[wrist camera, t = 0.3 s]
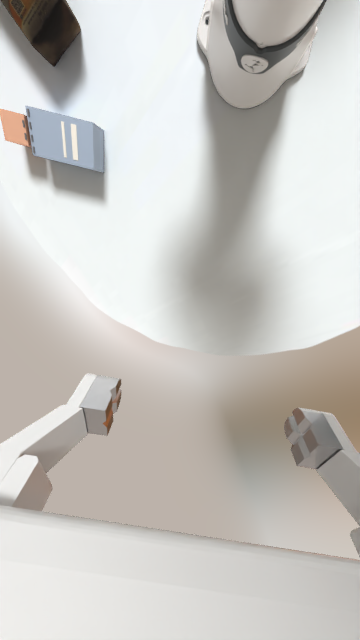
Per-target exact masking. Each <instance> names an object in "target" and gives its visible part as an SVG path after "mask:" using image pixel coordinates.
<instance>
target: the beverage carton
mask: <svg viewBox="0 0 360 640" xmlns="http://www.w3.org/2000/svg"><path fill="white" fill-rule="evenodd" d="M1 1H2V3H3V4H4V6H5V7H6V9H7V10H8V12H9V13H10V15H11V16H12V17H13V19H14V20H15V22H16V23H17V25H18V26H19V27H20V29H21V30H22V32H23V33H24V35H25V36H26V38H27V39H28V40H29V41H30V43H31V45H32V46H33V47H34V48H35V49H36V50H37V51H38V52H39V53H40V54H41V55H42V56H43V57H44V58H45V59H46V60H47V61H48V62H49V63H50V64H51V65H53V66H55V65H56V63H57V62H58V61H59V59H60V57H61V56H62V54H63V53H64V52H65V50H66V49H67V48H68V47H69V45H70V44H71V42H72V41H73V40H74V38H75V37H76V35H77V34H78V33H79V32H80V30H81V29H80V25H79V23H78V21H77V19H76V17H75V16H74V14H73V12H72V10H71V8H70V7H69V5H68V3H67V1H66V0H1Z"/></svg>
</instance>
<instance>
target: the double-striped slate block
mask: <svg viewBox="0 0 360 640" xmlns="http://www.w3.org/2000/svg"><path fill="white" fill-rule="evenodd" d="M25 106H26V105H25ZM26 112H27V119H28V126H29V132H30V139H31V145H32V152H33V155H34V156H38V157H42V158H46V159H50V160H54V161H58V162H62V163H66V164H71V165H75V166H79V167H83V168H87V169H91V170H95V171H99V172H103V173H104V130H103V129H101V128H100V127H98V126H97V125H95V124H94V123H92V122H89V121H85V120H81V119H77V118H73V117H69V116H65V115H61V114H57V113H53V112H49V111H45V110H41V109H37V108H33V107H30V106H26Z"/></svg>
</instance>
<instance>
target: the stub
mask: <svg viewBox="0 0 360 640" xmlns="http://www.w3.org/2000/svg"><path fill="white" fill-rule="evenodd" d="M0 116H1V121H2V126H3V131H4V136H5V140H6V141H10V142H13V143H17V144H20V145H23V146H27V147H31V148H32V145H31V139H30V132H29V126H28V119H27V116H25V115H23V114H19V113H15V112H11V111H7V110H3V109H0Z"/></svg>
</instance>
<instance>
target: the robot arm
mask: <svg viewBox="0 0 360 640" xmlns="http://www.w3.org/2000/svg"><path fill="white" fill-rule="evenodd" d="M325 2H326V0H205V4H204V8H203V11H202V15H201V18H200V22H199V25H198V30H197V41H198V44H199V46H200V48H201V49H202V51H203V53H204V54H205V56H206V57H207V60H208V63H209V68H210V72H211V76H212V80H213V83H214V85H215V87H216V89H217V91H218V93H219V94H220V96H221V97H222V98H223V99H224V100H225V101H226V102H227V103H229V104H230V105H232V106H234V107H237V108H252V107H255V106H258V105H260V104H262V103H263V102H265V101H266V100H267V99H269V98H270V97H271V96H272V95H273V94H274V93H275V92H276V91H277V90H278V89H279V87H280V86H281V85H282V84H283V83H284V82H285V81H286V80H287V79H289V78H291V77H293V76H295V75H296V74H298V73H299V72H301V71H302V70H303V69H304V67H305V65H306V64H307V62H308V59H309V55H310V51H311V47H312V42H313V39H314V37H315V35H316V33H317V30H318V28H317V27H316V26H317V22H318V18H319V15H320V13H321V11H322V9H323V6H324V4H325ZM206 20H209V23H208V25H206V24H205V21H206ZM120 386H121V379H117V378H111V377H106V376H101V375H96V374H90V373H87V374H86V375H85V376H84V377H83V379H82V380H81V382H80V383H79V385H78V387H77V389H76V390H75V391H74V393H73V395H72V396H71V398H70V399H69V401H68V403H67V404H66V405H61V406H60V407H58V408H56V409H55V410H53V411H52V412H50V413H48V414H47V415H45V416H44V417H42V418H41V419H39V420H37V421H36V422H34V423H33V424H31V425H30V426H28V427H27V428H25V429H23V430H22V431H20V432H19V433H17V434H16V435H14V436H12V437H11V438H9V439H8V440H6V441H5V442H3V443H2V444H0V640H360V560H356V559H349V558H343V557H337V556H330V555H324V554H317V553H311V552H304V551H297V550H291V549H284V548H278V547H271V546H265V545H258V544H251V543H245V542H239V541H232V540H226V539H219V538H212V537H206V536H199V535H193V534H186V533H180V532H173V531H167V530H160V529H153V528H147V527H141V526H134V525H128V524H120V523H114V522H108V521H101V520H95V519H88V518H82V517H75V516H68V515H62V514H55V513H49V512H42V510H43V508H44V506H45V504H46V501H47V499H48V497H49V495H50V493H51V491H52V484H51V482H50V480H49V479H48V477H47V475H46V473H47V472H48V471H49V470H50V469H51V468H52V467H53V466H54V465H55V464H57V463H58V461H60V460H61V459H62V458H63V457H64V456H65V455H66V454H67V453H68V452H69V451H71V449H72V448H74V447H75V446H76V445H77V444H78V443H79V442H80V441H81V440H82V439H83V438H84V437H85V436H87V434H88V433H91V434H99V435H106V436H107V435H108V433H109V430H110V428H111V425H112V423H113V414H114V413H115V412H116V411H117V409H118V407H119V403H120V399H121V390H120ZM292 413H293V416H290V417H288V418H287V420H286V421H285V425H284V430H285V434H286V437H287V439H288V440H289V441H290V443H291V444H292V447H291V451H292V454H293V456H294V459H295V462H296V465H297V466H300V467H305V468H311V469H316V471H317V473H318V474H319V475H320V476H321V478H322V479H323V480H324V481H325V482H326V484H327V485H328V486H329V488H330V489H331V490H332V491H333V493H334V494H335V495H336V497H337V498H338V499H339V500H340V502H341V503H342V504H343V505H344V507H345V508H346V509H347V511H348V512H349V513H350V514H351V516H352V517H353V518H354V519H355V521H356V522H357V523H358V524H359V526H360V453H358V452H357V451H356V450H355V448H354V446H353V445H352V443H351V442H350V440H349V438H348V437H347V435H346V434H345V432H344V430H343V429H342V427H341V426H340V424H339V422H338V421H337V419H336V418H335V416H334V415H333V414H331V413H327V412H321V411H316V410H309V409H303V408H296V409H294V410H293V412H292ZM350 536H351V538H352V541H353V543H354V545H355V547H356V550H357V552H358V554H359V557H360V527H359V528H357V529H354V530H352V531H351V533H350Z"/></svg>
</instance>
